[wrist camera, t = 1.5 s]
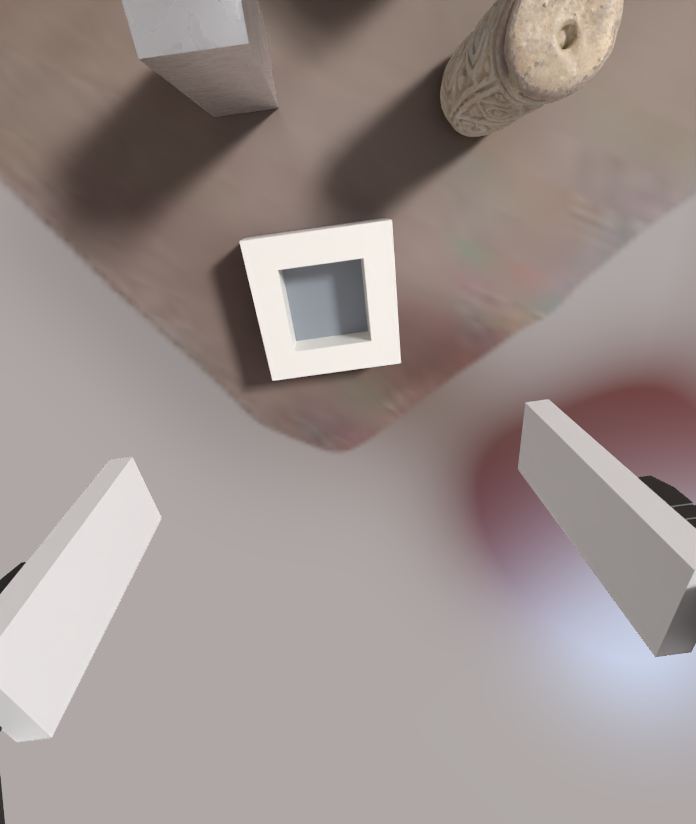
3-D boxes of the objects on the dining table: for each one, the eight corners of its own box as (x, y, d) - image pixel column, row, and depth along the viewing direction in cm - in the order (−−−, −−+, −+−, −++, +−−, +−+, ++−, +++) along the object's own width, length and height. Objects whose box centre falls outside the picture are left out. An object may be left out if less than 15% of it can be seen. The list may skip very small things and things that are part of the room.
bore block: (247, 236, 34) (239, 241, 30) (384, 217, 34) (392, 219, 30) (276, 364, 40) (272, 380, 36) (393, 348, 40) (400, 363, 36)
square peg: (193, 29, 27) (89, -110, 15) (263, 19, 27) (217, -128, 15) (214, 117, 30) (138, 59, 18) (278, 108, 30) (248, 43, 17)
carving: (542, 88, 30) (660, 28, 20) (460, 162, 32) (528, 144, 22) (502, 0, 28) (613, -123, 17) (416, 87, 30) (468, 24, 19)
